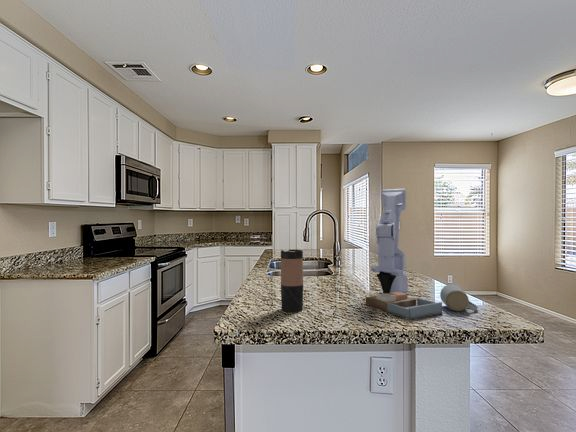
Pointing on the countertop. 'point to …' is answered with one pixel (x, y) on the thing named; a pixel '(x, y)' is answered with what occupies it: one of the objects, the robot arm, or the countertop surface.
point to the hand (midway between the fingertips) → (386, 293)
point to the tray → (416, 309)
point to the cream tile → (386, 297)
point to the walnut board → (383, 305)
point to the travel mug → (292, 280)
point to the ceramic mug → (456, 298)
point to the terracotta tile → (399, 295)
